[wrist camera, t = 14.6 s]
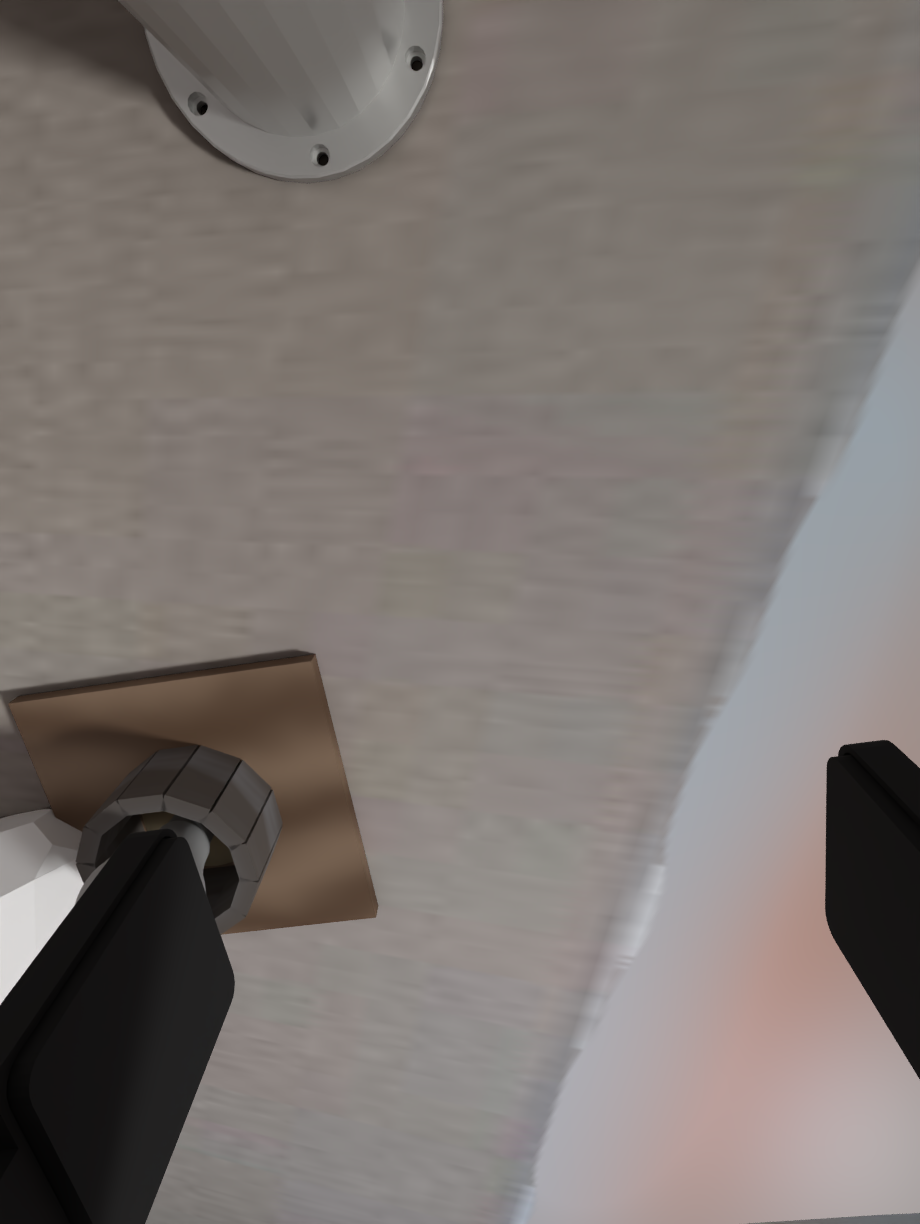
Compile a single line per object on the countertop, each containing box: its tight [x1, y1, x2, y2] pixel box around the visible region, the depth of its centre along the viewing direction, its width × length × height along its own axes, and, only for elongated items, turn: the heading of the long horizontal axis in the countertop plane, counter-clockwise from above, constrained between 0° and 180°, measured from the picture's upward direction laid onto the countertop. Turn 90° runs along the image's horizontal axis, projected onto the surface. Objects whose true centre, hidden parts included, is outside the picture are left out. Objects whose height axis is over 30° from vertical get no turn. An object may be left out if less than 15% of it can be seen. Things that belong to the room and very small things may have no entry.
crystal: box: [0, 809, 84, 1004], centre depth 46 cm, size 7×7×24 cm
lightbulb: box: [75, 815, 214, 904], centre depth 37 cm, size 6×6×11 cm
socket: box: [8, 654, 378, 935], centre depth 41 cm, size 18×18×6 cm
